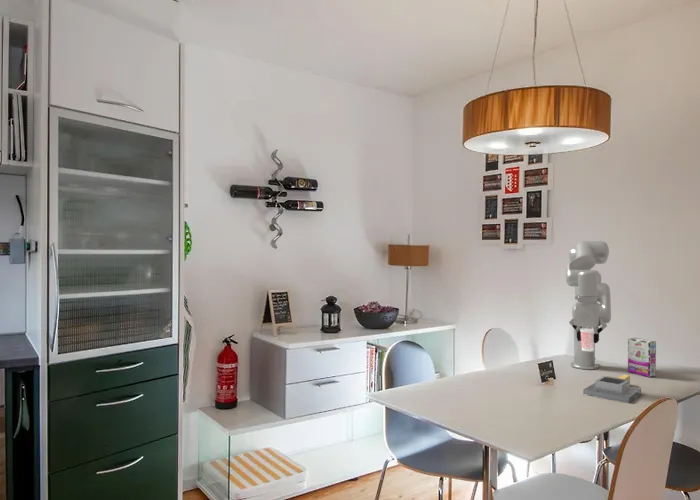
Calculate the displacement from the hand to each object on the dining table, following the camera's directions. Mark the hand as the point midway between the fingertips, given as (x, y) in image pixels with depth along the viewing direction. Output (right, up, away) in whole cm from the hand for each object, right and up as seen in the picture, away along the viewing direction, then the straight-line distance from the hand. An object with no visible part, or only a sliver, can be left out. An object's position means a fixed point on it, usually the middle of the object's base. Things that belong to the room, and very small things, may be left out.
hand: (587, 341), depth 223 cm
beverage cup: (0, -4, 0) cm, 4 cm away
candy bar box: (+35, -19, +20) cm, 45 cm away
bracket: (+14, -20, -1) cm, 24 cm away
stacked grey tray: (+6, -20, -10) cm, 23 cm away
